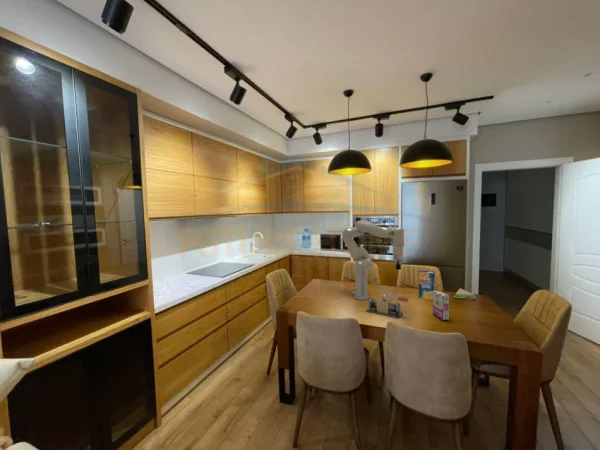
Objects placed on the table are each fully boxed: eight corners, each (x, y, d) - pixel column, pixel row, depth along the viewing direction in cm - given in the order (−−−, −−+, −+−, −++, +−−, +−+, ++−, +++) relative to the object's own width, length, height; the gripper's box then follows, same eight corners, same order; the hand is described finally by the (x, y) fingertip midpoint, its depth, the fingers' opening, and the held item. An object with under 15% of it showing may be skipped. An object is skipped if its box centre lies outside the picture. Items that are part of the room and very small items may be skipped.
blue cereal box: (433, 300, 207) (433, 273, 206) (418, 298, 213) (418, 271, 212) (434, 298, 213) (435, 271, 212) (420, 295, 219) (420, 270, 218)
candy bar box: (449, 320, 170) (450, 295, 169) (442, 320, 169) (442, 295, 168) (439, 313, 181) (439, 290, 180) (432, 313, 180) (432, 290, 180)
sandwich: (474, 295, 218) (474, 289, 217) (476, 302, 201) (476, 296, 201) (453, 293, 226) (453, 287, 225) (453, 299, 209) (453, 293, 209)
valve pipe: (365, 311, 187) (365, 297, 186) (371, 306, 196) (371, 293, 195) (398, 318, 173) (398, 303, 173) (403, 313, 182) (403, 298, 182)
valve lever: (381, 297, 184) (381, 294, 184) (382, 296, 186) (382, 293, 186) (407, 302, 173) (407, 299, 173) (408, 300, 176) (408, 298, 175)
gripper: (396, 243, 198) (396, 266, 199) (390, 245, 186) (390, 270, 187) (406, 243, 194) (406, 268, 195) (400, 246, 182) (400, 271, 183)
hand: (398, 269), depth 191 cm, fingers closed
